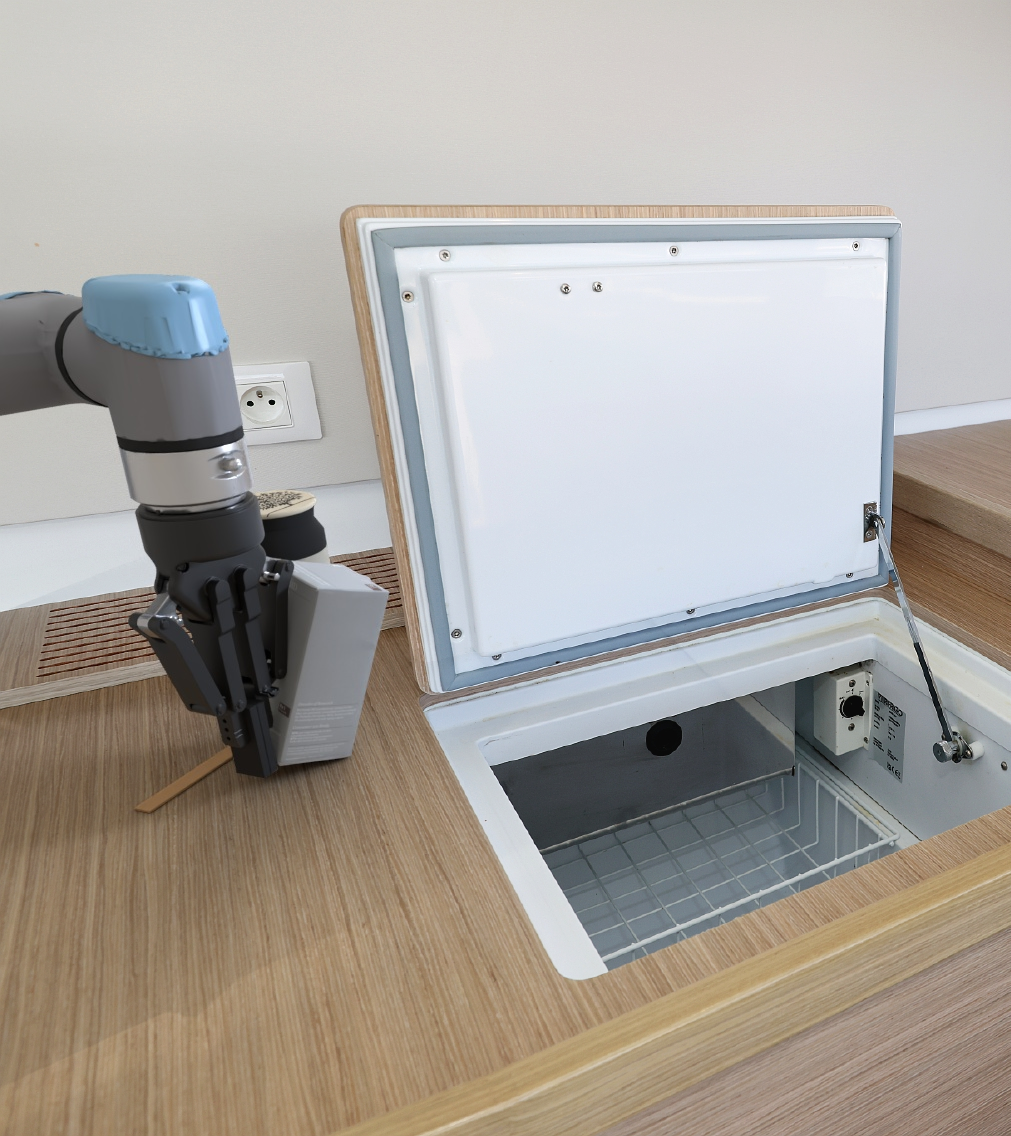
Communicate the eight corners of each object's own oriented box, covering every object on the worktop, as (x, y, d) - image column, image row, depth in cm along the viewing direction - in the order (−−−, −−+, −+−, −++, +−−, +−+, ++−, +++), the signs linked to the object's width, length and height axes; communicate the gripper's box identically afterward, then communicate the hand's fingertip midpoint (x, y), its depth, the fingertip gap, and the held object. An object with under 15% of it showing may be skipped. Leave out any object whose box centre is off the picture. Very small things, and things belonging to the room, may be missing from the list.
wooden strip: (134, 810, 75) (133, 807, 75) (303, 699, 91) (302, 697, 91) (150, 813, 75) (149, 811, 75) (316, 701, 91) (316, 699, 91)
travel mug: (240, 675, 95) (201, 505, 88) (311, 643, 101) (281, 483, 94) (294, 695, 92) (259, 521, 85) (364, 661, 98) (337, 497, 92)
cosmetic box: (231, 734, 82) (258, 557, 80) (316, 724, 88) (342, 559, 86) (278, 770, 77) (307, 584, 75) (364, 757, 83) (393, 584, 81)
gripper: (160, 531, 62) (231, 826, 71) (307, 479, 74) (352, 737, 83) (67, 518, 64) (148, 809, 72) (226, 469, 75) (279, 724, 84)
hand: (257, 770), depth 78 cm, fingers closed
